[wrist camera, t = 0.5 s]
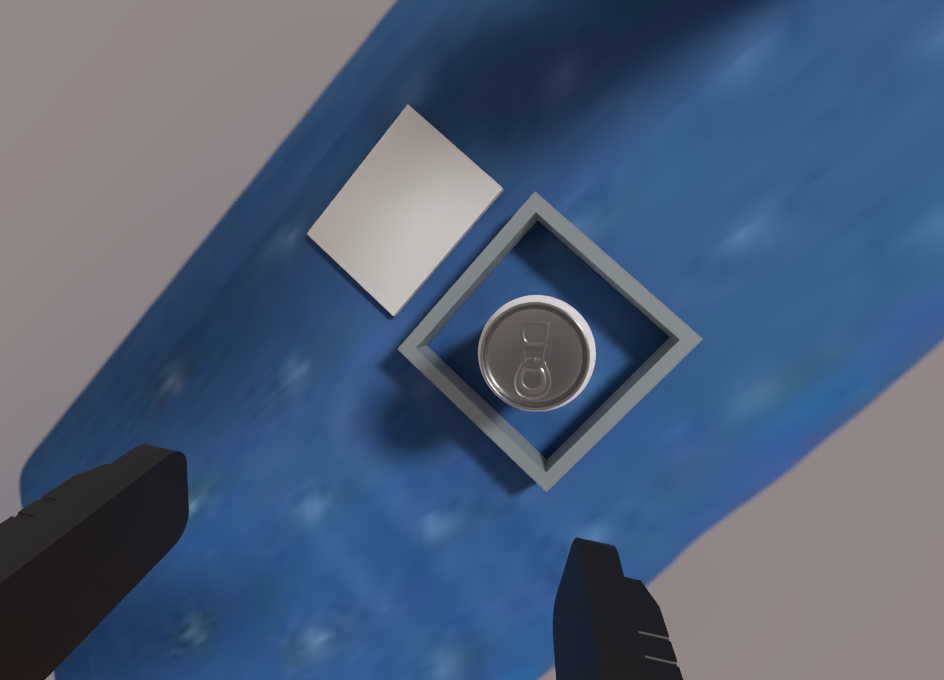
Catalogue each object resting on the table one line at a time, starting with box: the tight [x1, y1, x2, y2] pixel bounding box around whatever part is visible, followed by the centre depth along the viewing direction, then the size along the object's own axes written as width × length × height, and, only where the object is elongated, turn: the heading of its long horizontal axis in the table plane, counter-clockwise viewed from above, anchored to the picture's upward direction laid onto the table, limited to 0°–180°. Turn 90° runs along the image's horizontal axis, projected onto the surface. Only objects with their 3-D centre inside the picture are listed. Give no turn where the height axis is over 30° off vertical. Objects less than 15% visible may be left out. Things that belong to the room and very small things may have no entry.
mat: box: [307, 105, 504, 316], centre depth 37 cm, size 13×10×1 cm
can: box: [478, 295, 596, 412], centre depth 30 cm, size 6×6×12 cm
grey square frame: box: [398, 192, 703, 492], centre depth 34 cm, size 15×15×3 cm
